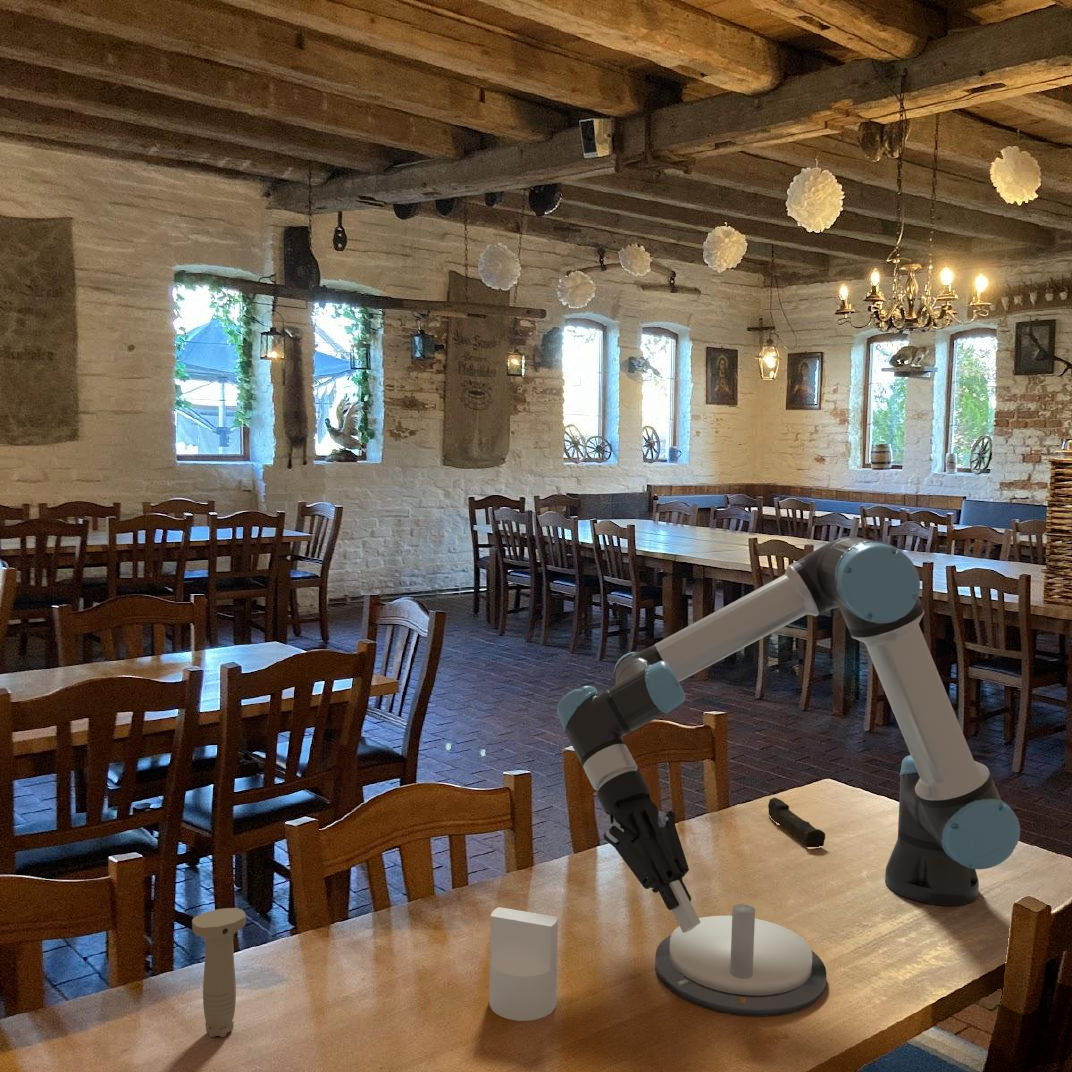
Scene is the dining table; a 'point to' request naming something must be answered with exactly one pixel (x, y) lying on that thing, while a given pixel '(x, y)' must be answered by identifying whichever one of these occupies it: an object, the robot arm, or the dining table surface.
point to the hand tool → (795, 824)
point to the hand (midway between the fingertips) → (691, 927)
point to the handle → (219, 966)
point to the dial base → (736, 1002)
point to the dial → (741, 954)
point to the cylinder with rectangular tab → (523, 964)
